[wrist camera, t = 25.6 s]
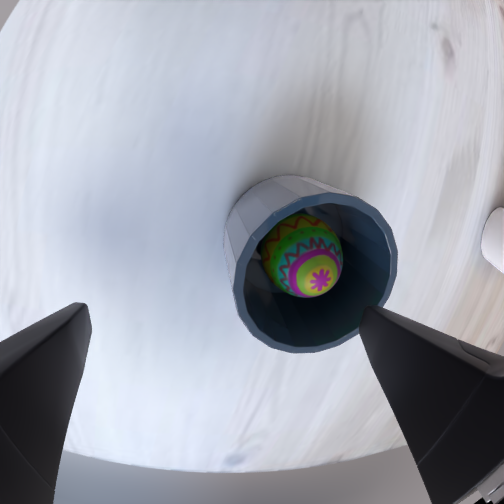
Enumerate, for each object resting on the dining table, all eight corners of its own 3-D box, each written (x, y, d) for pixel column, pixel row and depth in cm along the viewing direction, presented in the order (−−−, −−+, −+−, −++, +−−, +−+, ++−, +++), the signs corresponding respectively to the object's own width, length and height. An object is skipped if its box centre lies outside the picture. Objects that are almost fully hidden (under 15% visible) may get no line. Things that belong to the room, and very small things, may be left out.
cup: (198, 216, 20) (197, 255, 13) (316, 152, 19) (369, 161, 13) (260, 314, 23) (281, 376, 17) (360, 258, 23) (410, 301, 16)
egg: (331, 255, 22) (371, 293, 16) (271, 285, 22) (294, 333, 16) (309, 195, 20) (349, 217, 14) (243, 226, 20) (260, 261, 14)
